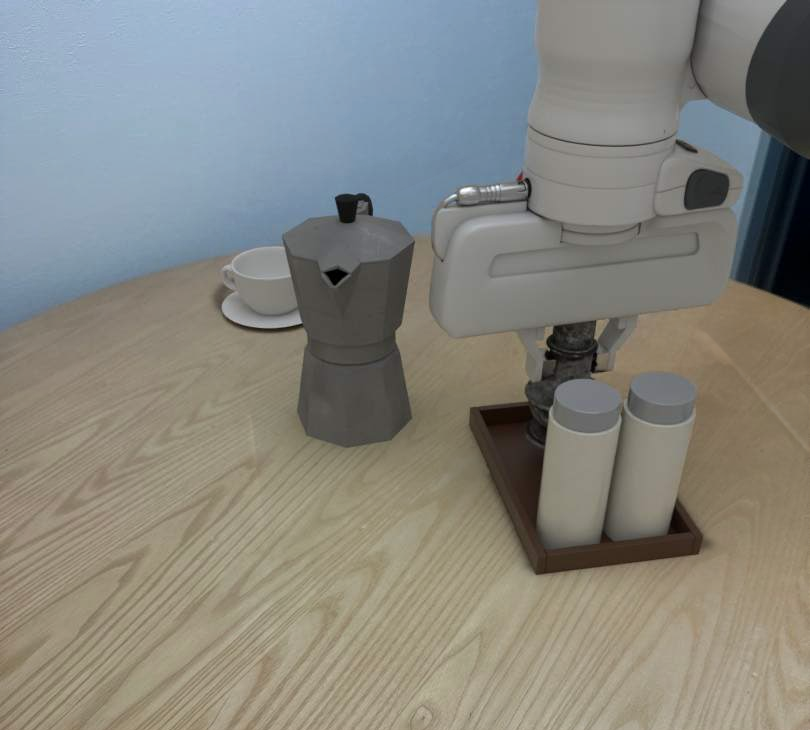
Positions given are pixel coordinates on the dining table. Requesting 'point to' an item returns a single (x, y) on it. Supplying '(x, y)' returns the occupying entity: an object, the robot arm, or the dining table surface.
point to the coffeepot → (351, 322)
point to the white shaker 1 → (578, 463)
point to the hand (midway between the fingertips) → (569, 373)
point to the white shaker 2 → (650, 455)
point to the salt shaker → (560, 373)
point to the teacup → (261, 289)
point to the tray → (519, 489)
